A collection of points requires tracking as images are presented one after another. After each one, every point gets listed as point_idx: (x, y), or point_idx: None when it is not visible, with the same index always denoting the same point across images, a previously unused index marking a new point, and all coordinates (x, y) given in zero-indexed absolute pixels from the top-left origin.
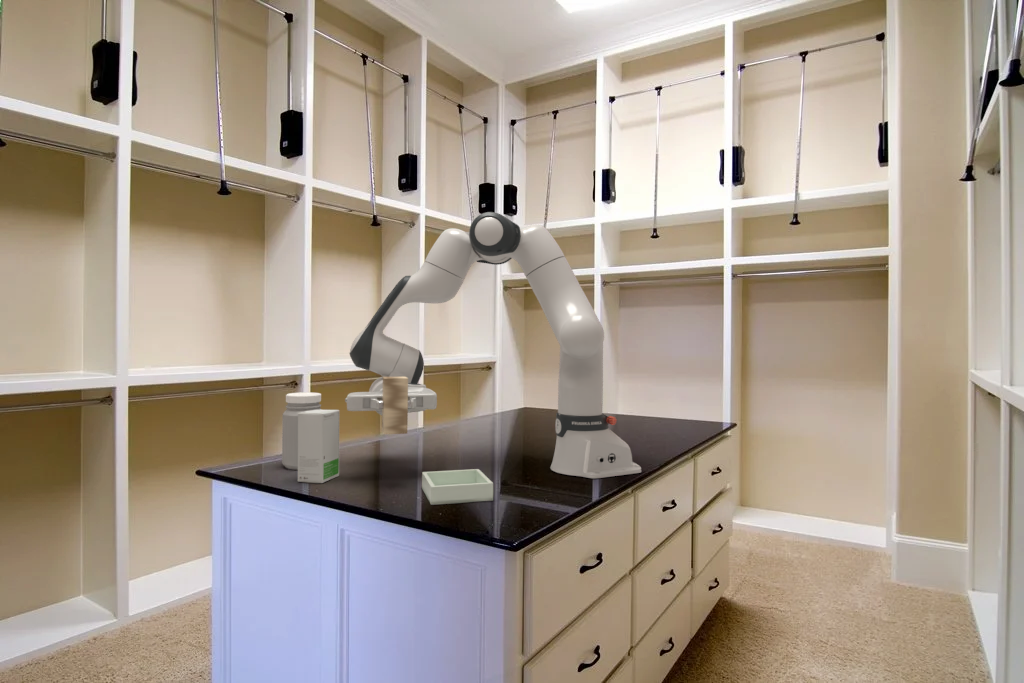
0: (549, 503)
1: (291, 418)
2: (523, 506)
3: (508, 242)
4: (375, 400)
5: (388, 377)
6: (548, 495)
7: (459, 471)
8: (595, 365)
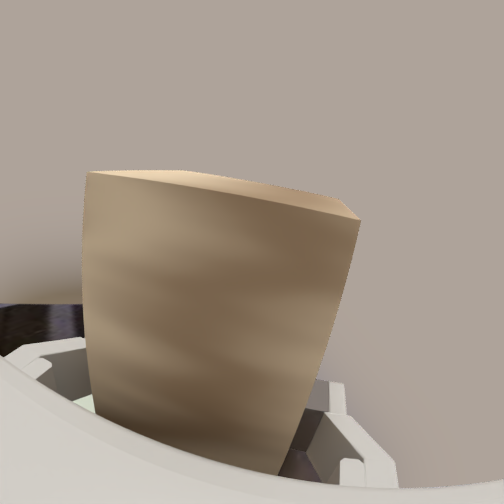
0: (52, 324)
1: None
2: (84, 336)
3: None
4: (353, 419)
5: (300, 196)
6: (19, 335)
7: None
8: None
